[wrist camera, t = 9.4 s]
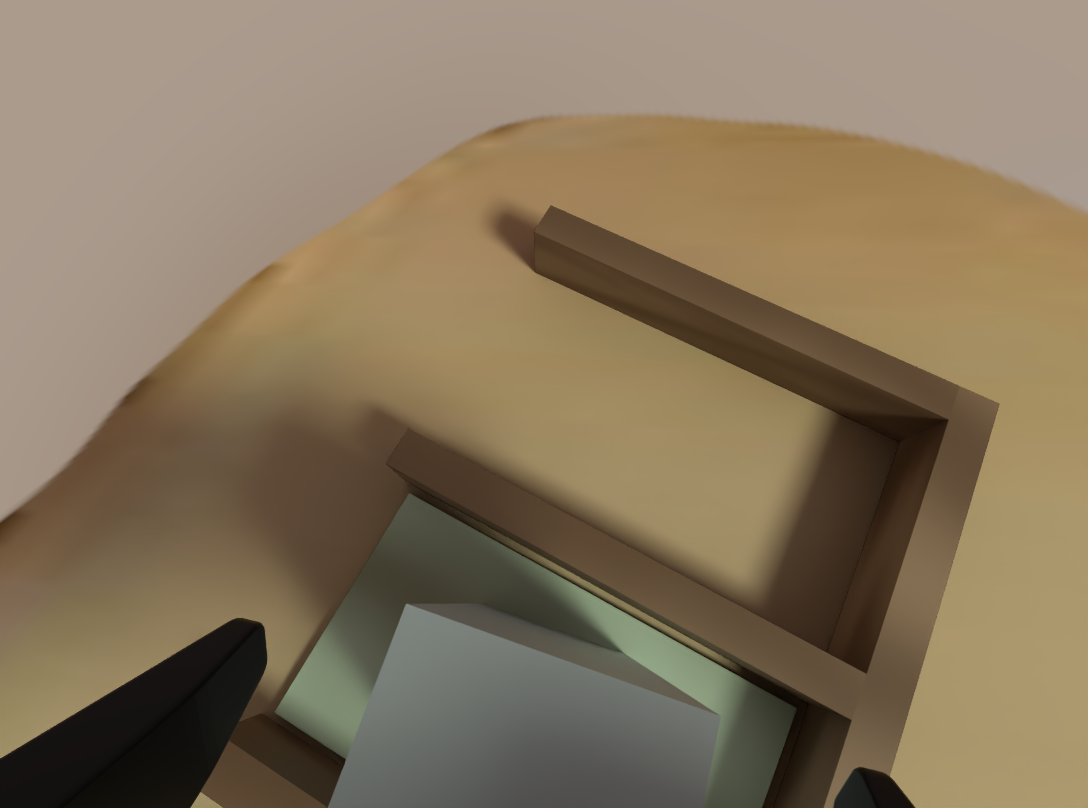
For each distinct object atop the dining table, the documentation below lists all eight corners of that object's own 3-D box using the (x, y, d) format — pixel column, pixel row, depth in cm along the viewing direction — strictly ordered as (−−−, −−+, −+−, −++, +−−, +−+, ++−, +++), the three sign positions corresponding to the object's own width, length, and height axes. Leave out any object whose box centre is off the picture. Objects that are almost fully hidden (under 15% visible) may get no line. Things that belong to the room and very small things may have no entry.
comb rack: (730, 1090, 14) (767, 1188, 12) (236, 755, 17) (184, 779, 14) (945, 427, 20) (999, 403, 17) (550, 248, 22) (550, 205, 20)
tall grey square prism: (580, 824, 16) (630, 1159, 6) (426, 765, 16) (256, 993, 7) (624, 653, 17) (721, 715, 8) (481, 603, 18) (406, 604, 8)
